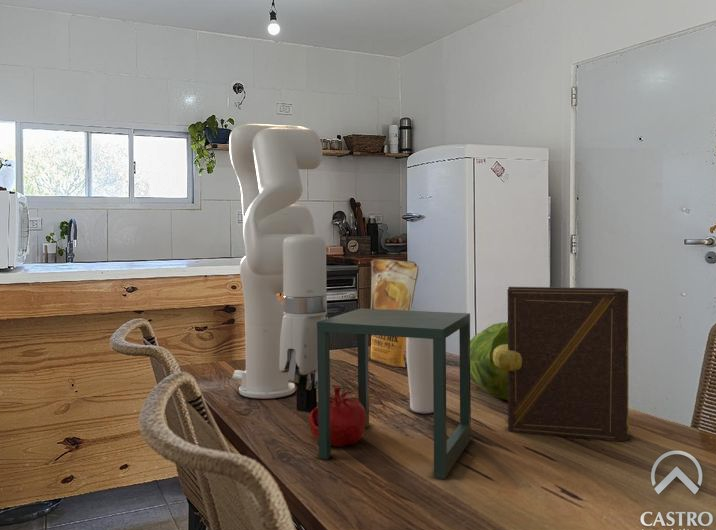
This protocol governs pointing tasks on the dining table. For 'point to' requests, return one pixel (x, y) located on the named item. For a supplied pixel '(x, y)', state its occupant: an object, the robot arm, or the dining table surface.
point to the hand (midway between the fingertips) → (306, 410)
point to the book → (567, 361)
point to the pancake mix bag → (391, 304)
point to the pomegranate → (342, 419)
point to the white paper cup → (420, 374)
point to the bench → (438, 330)
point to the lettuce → (489, 360)
